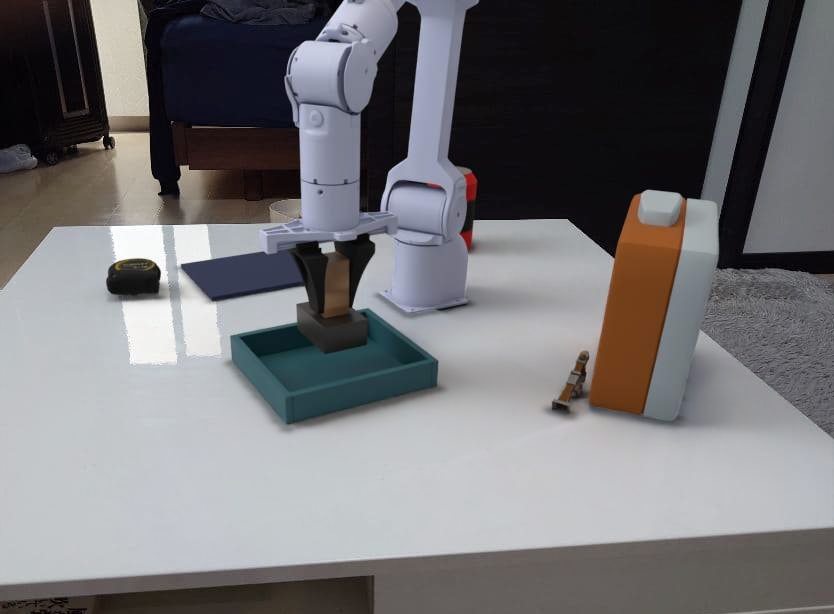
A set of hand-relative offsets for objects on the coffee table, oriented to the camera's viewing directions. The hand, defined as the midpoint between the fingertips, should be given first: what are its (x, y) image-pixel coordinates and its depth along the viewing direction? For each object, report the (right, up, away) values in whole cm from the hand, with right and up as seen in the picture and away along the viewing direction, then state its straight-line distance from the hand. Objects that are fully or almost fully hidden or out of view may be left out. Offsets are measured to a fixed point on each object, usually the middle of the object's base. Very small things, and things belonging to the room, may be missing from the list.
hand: (331, 307), depth 82 cm
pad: (-11, +9, +31) cm, 34 cm away
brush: (0, -3, +2) cm, 3 cm away
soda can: (+17, +15, +42) cm, 48 cm away
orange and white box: (+34, -8, +4) cm, 35 cm away
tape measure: (-27, +5, +23) cm, 36 cm away
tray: (0, -7, +4) cm, 8 cm away
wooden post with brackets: (+25, -10, 0) cm, 27 cm away
